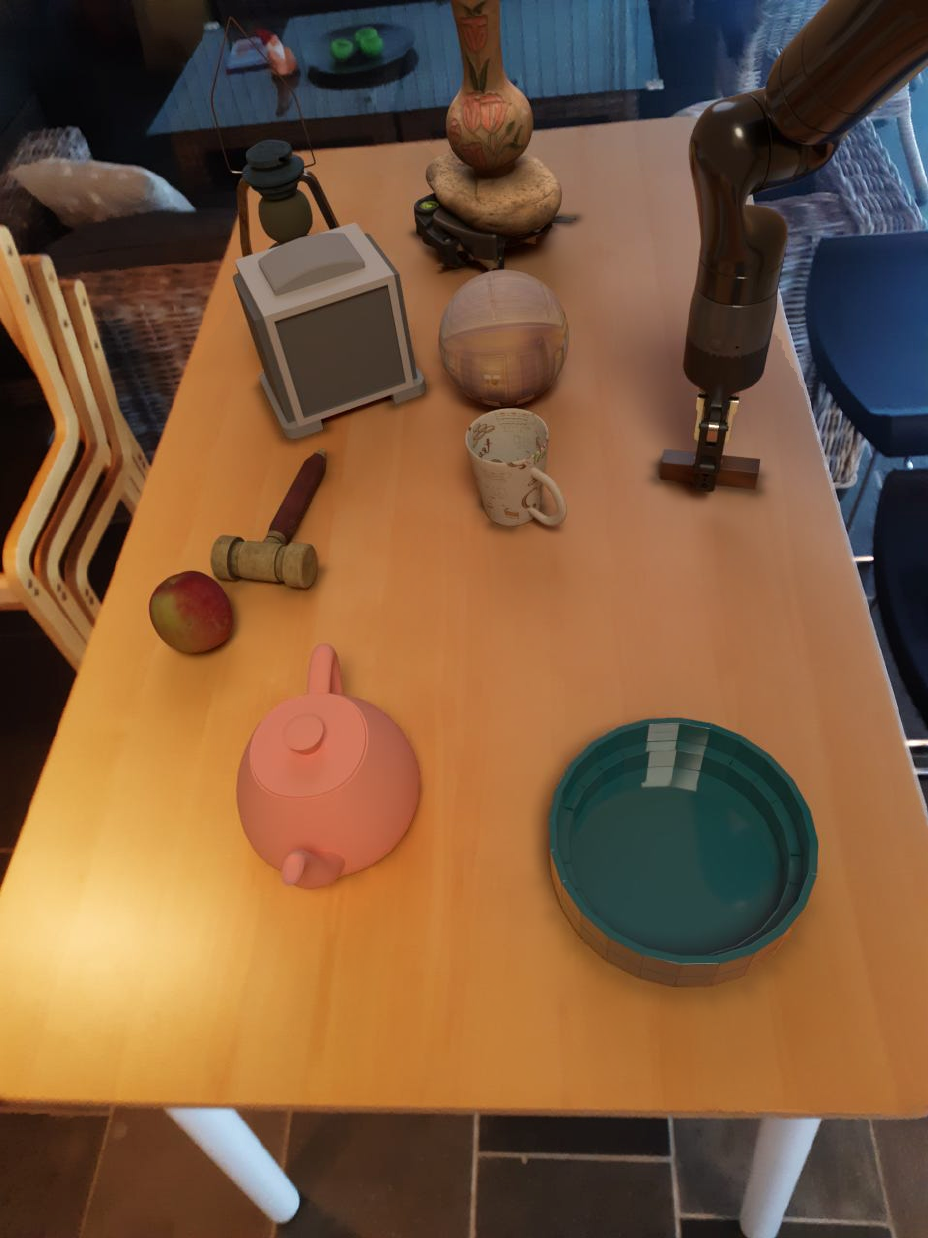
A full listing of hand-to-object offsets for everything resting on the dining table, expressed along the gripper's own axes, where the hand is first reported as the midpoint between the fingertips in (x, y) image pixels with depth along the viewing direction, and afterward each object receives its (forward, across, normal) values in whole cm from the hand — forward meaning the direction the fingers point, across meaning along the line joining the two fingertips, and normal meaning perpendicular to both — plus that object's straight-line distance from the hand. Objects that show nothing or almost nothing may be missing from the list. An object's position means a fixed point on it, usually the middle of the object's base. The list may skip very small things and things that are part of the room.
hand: (707, 461), depth 93 cm
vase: (+3, +45, +36) cm, 58 cm away
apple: (+3, -31, +46) cm, 55 cm away
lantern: (+3, +27, +58) cm, 64 cm away
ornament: (+3, +11, +25) cm, 27 cm away
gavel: (+3, -14, +43) cm, 45 cm away
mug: (+3, -9, +18) cm, 20 cm away
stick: (+2, 0, 0) cm, 2 cm away
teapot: (+3, -46, +26) cm, 53 cm away
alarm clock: (+3, +9, +46) cm, 47 cm away
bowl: (+2, -44, -2) cm, 44 cm away
